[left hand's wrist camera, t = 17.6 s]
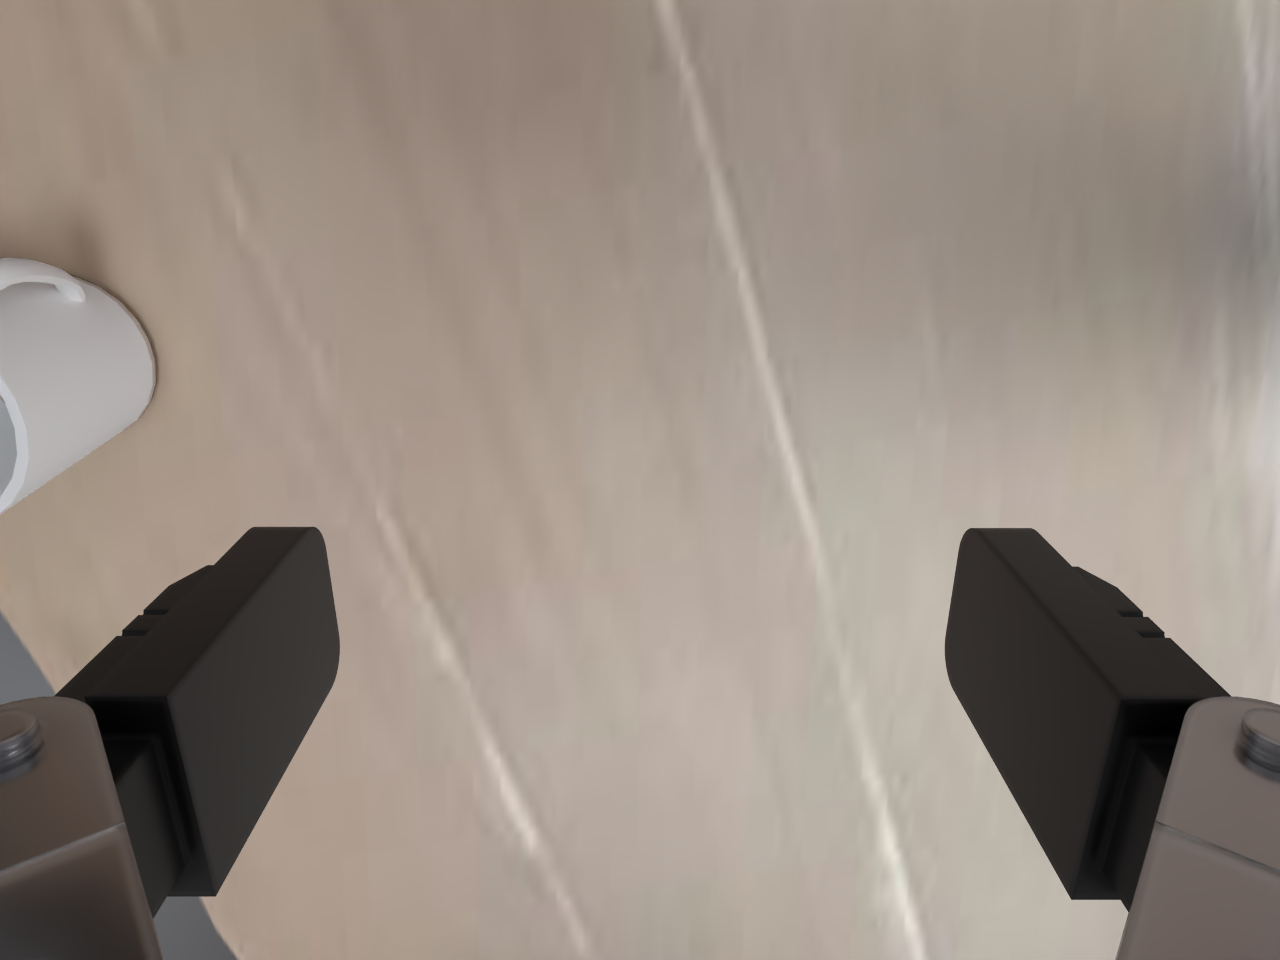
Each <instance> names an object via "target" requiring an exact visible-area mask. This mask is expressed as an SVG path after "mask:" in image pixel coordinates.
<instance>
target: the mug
mask: <svg viewBox="0 0 1280 960" xmlns="http://www.w3.org/2000/svg"><path fill="white" fill-rule="evenodd" d="M155 384H156V375H155V359H154V356H153V352H152V349H151V346H150V342H149V339H148V338H147V336H146V334H145V332H144V331H143V329H142V327H141V326H140V324H139V322H138V320H137V319H136V318H135V317H134V316H133V315H132V314H131V313H130V311H129V310H128V309H127V308H126V307H125V306H124V305H123V304H122V303H121V302H120V301H119V300H117V299H116V298H114V297H113V296H112V295H110V294H109V293H107V292H106V291H105V290H103V289H102V288H100V287H99V286H97V285H94V284H92V283H90V282H87V281H85V280H83V279H80V278H78V277H74V276H71V275H69V274H68V273H66V272H65V271H64V270H62V269H60V268H57V267H55V266H52V265H48V264H45V263H42V262H39V261H35V260H30V259H18V258H2V259H0V514H2V513H3V512H5V511H6V510H8V509H9V508H10V507H12V506H13V505H15V504H16V503H18V502H19V501H21V500H22V499H24V498H25V497H27V496H28V495H30V494H31V493H32V492H34V491H35V490H37V489H38V488H40V487H41V486H43V485H44V484H46V483H47V482H49V481H50V480H52V479H53V478H54V477H56V476H57V475H59V474H60V473H62V472H63V471H65V470H66V469H68V468H69V467H71V466H72V465H73V464H75V463H76V462H78V461H79V460H81V459H82V458H84V457H85V456H87V455H88V454H90V453H91V452H93V451H94V450H95V449H97V448H98V447H100V446H101V445H103V444H104V443H106V442H107V441H109V440H110V439H112V438H113V437H114V436H116V435H117V434H119V433H120V432H122V431H123V430H125V429H126V428H128V427H129V426H130V425H132V424H133V423H134V422H135V421H137V420H138V419H139V418H140V417H141V416H142V414H143V413H144V411H145V410H146V408H147V407H148V405H149V404H150V402H151V399H152V395H153V391H154V388H155Z"/></svg>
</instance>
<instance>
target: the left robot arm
mask: <svg viewBox="0 0 1280 960" xmlns="http://www.w3.org/2000/svg"><path fill="white" fill-rule="evenodd" d="M339 654H340V641H339V632H338V625H337V618H336V612H335V605H334V598H333V592H332V585H331V578H330V572H329V565H328V558H327V552H326V546H325V542H324V539H323V536H322V534H321V532H320V531H319V530H318V529H317V528H315V527H253V528H251V529H249V530H248V531H247V532H246V533H245V534H244V535H243V536H242V537H241V538H240V539H239V540H238V541H237V542H236V543H235V544H234V545H233V546H232V547H231V548H230V549H229V550H228V551H227V552H226V553H225V554H224V555H223V556H222V557H221V558H220V559H219V560H218V562H217V563H216V564H215V565H207V566H205V567H203V568H201V569H200V570H198V571H196V572H194V573H192V574H190V575H188V576H187V577H185V578H183V579H181V580H179V581H177V582H175V583H173V584H172V585H170V586H168V587H167V588H166V589H165V590H164V591H163V592H162V593H161V594H160V595H159V596H158V597H157V598H156V599H155V600H154V601H153V602H152V603H151V604H150V605H149V606H147V607H146V608H145V609H144V614H143V615H138V616H137V617H136V618H135V619H134V620H133V621H132V622H131V623H130V624H129V625H128V626H127V627H126V628H125V629H124V630H123V631H122V636H116V637H115V638H114V639H113V640H112V641H111V642H110V643H109V644H108V645H107V646H106V647H105V648H104V649H103V650H102V651H101V652H100V653H99V654H98V655H96V656H95V657H94V658H93V659H92V660H91V661H90V662H89V663H88V664H87V665H86V666H85V667H84V668H83V669H82V670H81V671H80V672H79V673H78V674H77V675H76V676H75V677H74V678H73V679H72V680H70V681H69V682H68V683H67V684H66V685H65V686H64V687H63V688H62V689H61V690H60V691H59V692H58V693H57V694H56V695H55V696H54V697H37V698H28V699H23V700H19V701H13V702H9V703H6V704H2V705H0V960H164V956H163V953H162V949H161V946H160V942H159V939H158V935H157V932H156V928H155V924H154V921H153V918H154V916H155V915H156V913H157V912H158V910H159V908H160V907H161V905H162V903H163V902H164V900H165V899H166V897H167V896H216V895H217V893H218V891H219V889H220V888H221V886H222V884H223V882H224V880H225V879H226V877H227V875H228V873H229V871H230V870H231V868H232V866H233V864H234V862H235V861H236V859H237V857H238V855H239V853H240V852H241V850H242V848H243V846H244V844H245V843H246V841H247V839H248V837H249V835H250V834H251V832H252V830H253V828H254V826H255V825H256V823H257V821H258V819H259V817H260V816H261V814H262V812H263V810H264V808H265V807H266V805H267V803H268V801H269V799H270V798H271V796H272V794H273V792H274V790H275V789H276V787H277V785H278V783H279V781H280V780H281V778H282V776H283V774H284V772H285V771H286V769H287V767H288V765H289V763H290V762H291V760H292V758H293V756H294V754H295V753H296V751H297V749H298V747H299V745H300V744H301V742H302V740H303V738H304V737H305V735H306V733H307V731H308V729H309V728H310V726H311V724H312V722H313V720H314V719H315V717H316V715H317V713H318V711H319V710H320V708H321V706H322V704H323V702H324V701H325V699H326V697H327V695H328V693H329V692H330V690H331V688H332V686H333V684H334V681H335V678H336V674H337V669H338V664H339ZM945 661H946V668H947V673H948V677H949V680H950V683H951V686H952V688H953V690H954V692H955V694H956V695H957V697H958V699H959V701H960V703H961V704H962V706H963V708H964V710H965V711H966V713H967V715H968V717H969V719H970V720H971V722H972V724H973V726H974V727H975V729H976V731H977V733H978V735H979V736H980V738H981V740H982V742H983V743H984V745H985V747H986V749H987V751H988V752H989V754H990V756H991V758H992V759H993V761H994V763H995V765H996V766H997V768H998V770H999V772H1000V774H1001V775H1002V777H1003V779H1004V781H1005V782H1006V784H1007V786H1008V788H1009V790H1010V791H1011V793H1012V795H1013V797H1014V798H1015V800H1016V802H1017V804H1018V806H1019V807H1020V809H1021V811H1022V813H1023V814H1024V816H1025V818H1026V820H1027V822H1028V823H1029V825H1030V827H1031V829H1032V830H1033V832H1034V834H1035V836H1036V838H1037V839H1038V841H1039V843H1040V845H1041V846H1042V848H1043V850H1044V852H1045V854H1046V855H1047V857H1048V859H1049V861H1050V862H1051V864H1052V866H1053V868H1054V870H1055V871H1056V873H1057V875H1058V877H1059V878H1060V880H1061V882H1062V884H1063V886H1064V887H1065V889H1066V891H1067V893H1068V894H1069V896H1070V898H1071V900H1121V901H1122V903H1123V904H1124V906H1125V907H1126V909H1127V911H1128V912H1129V914H1128V917H1127V921H1126V924H1125V928H1124V931H1123V935H1122V938H1121V942H1120V946H1119V949H1118V953H1117V956H1116V960H1280V705H1278V704H1274V703H1271V702H1267V701H1262V700H1257V699H1252V698H1243V697H1231V696H1230V695H1229V694H1228V693H1227V692H1226V691H1225V690H1224V689H1223V688H1222V687H1221V686H1220V685H1219V684H1218V683H1217V682H1216V681H1215V680H1214V679H1213V678H1212V677H1210V676H1209V675H1208V674H1207V673H1206V672H1205V671H1204V670H1203V669H1202V668H1201V667H1200V666H1199V665H1198V664H1197V663H1196V662H1195V661H1194V660H1193V659H1192V658H1191V657H1189V656H1188V655H1187V654H1186V653H1185V652H1184V651H1183V650H1182V649H1181V648H1180V647H1179V646H1178V645H1177V644H1176V643H1175V642H1174V641H1173V640H1172V639H1171V638H1165V637H1164V632H1163V631H1162V630H1161V629H1160V628H1159V627H1158V626H1157V625H1156V624H1155V623H1154V622H1153V621H1152V620H1151V619H1150V618H1149V617H1143V612H1142V611H1141V610H1140V609H1139V608H1138V607H1137V606H1136V605H1135V604H1134V603H1133V602H1132V601H1131V600H1130V599H1129V598H1128V597H1126V596H1125V595H1124V594H1123V593H1122V592H1121V591H1120V590H1119V589H1118V588H1117V587H1115V586H1113V585H1111V584H1110V583H1108V582H1106V581H1104V580H1102V579H1100V578H1098V577H1096V576H1095V575H1093V574H1091V573H1089V572H1087V571H1085V570H1083V569H1081V568H1080V567H1072V566H1071V565H1070V564H1069V563H1068V562H1067V561H1066V560H1065V559H1064V558H1063V557H1062V556H1061V555H1060V554H1059V553H1058V552H1057V551H1056V550H1055V549H1054V548H1053V547H1052V546H1051V545H1050V544H1049V543H1048V542H1047V541H1046V540H1045V539H1044V538H1043V537H1042V536H1041V535H1040V534H1039V533H1038V532H1037V531H1036V530H1034V529H1032V528H970V529H968V530H967V531H966V532H965V534H964V535H963V537H962V540H961V543H960V547H959V552H958V559H957V565H956V572H955V578H954V585H953V591H952V598H951V604H950V611H949V617H948V624H947V631H946V638H945Z"/></svg>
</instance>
